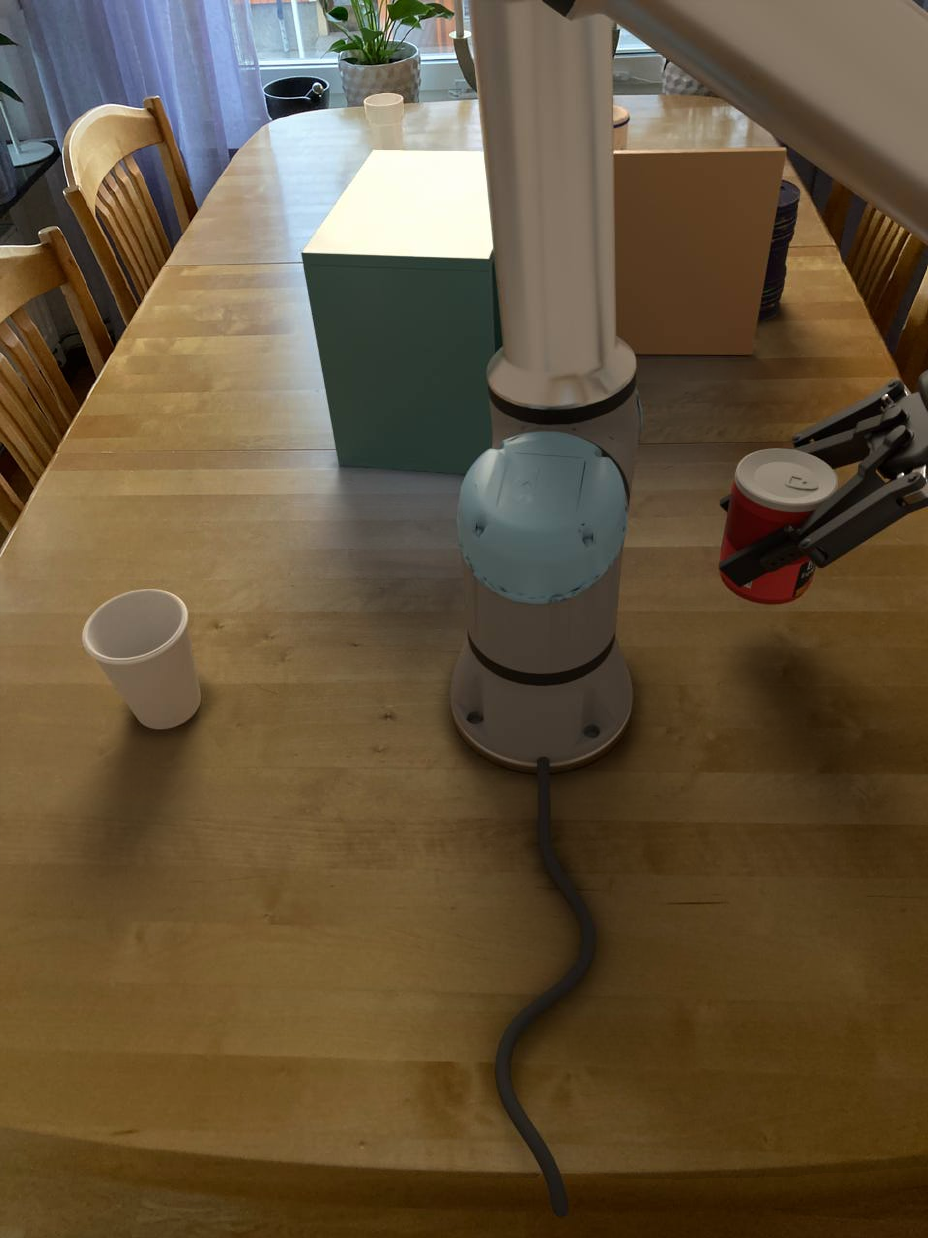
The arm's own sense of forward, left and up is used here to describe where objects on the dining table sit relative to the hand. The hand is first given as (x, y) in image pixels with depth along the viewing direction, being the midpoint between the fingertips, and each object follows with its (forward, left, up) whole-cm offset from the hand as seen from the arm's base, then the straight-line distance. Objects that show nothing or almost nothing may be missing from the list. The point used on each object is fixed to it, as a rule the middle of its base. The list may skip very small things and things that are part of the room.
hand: (729, 542), depth 83 cm
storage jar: (+59, -3, -9) cm, 60 cm away
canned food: (0, -3, -4) cm, 5 cm away
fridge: (+31, +32, -8) cm, 46 cm away
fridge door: (+48, +10, -8) cm, 50 cm away
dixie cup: (-18, +46, -9) cm, 51 cm away
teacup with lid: (+103, +20, -9) cm, 105 cm away
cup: (+105, +57, -9) cm, 120 cm away
